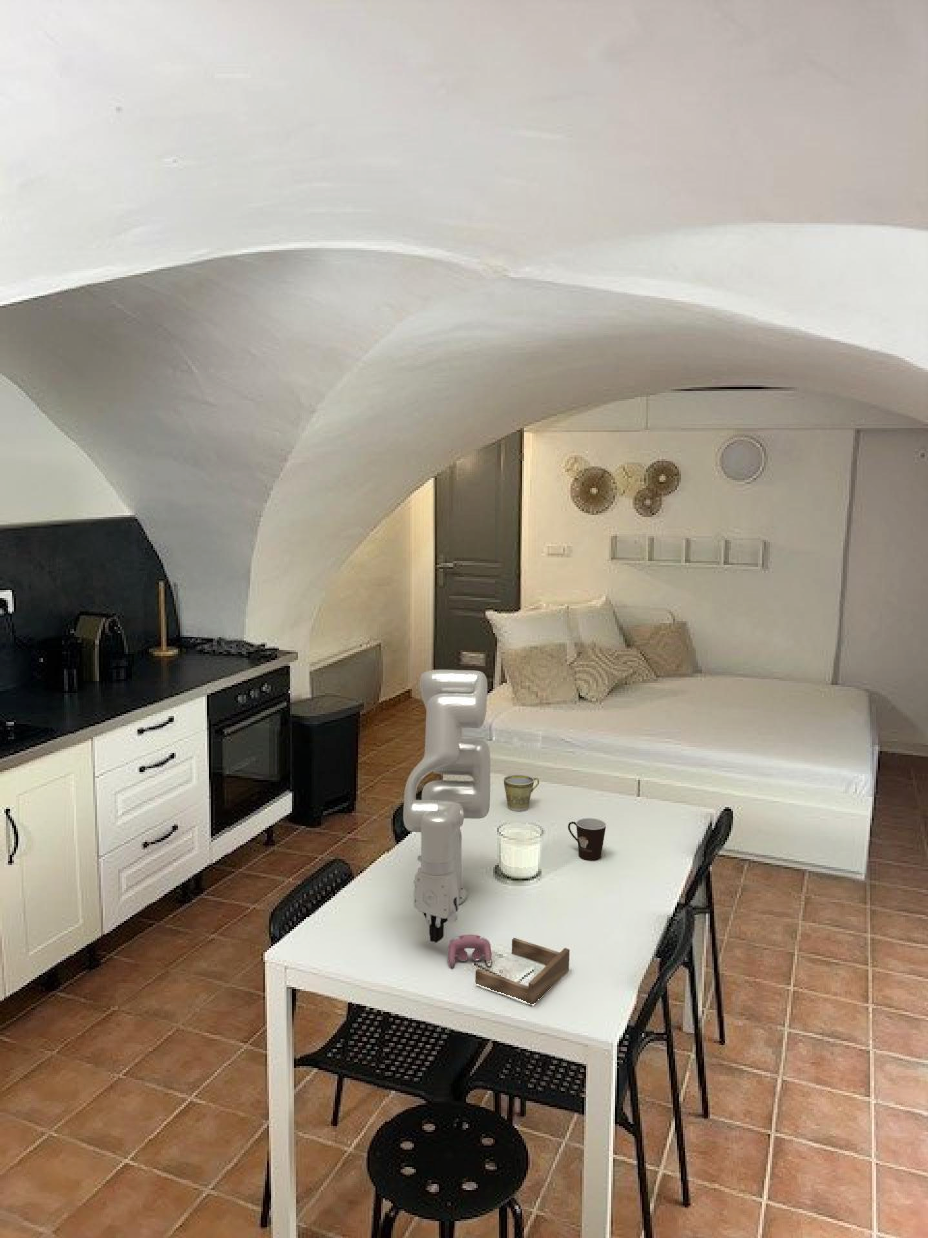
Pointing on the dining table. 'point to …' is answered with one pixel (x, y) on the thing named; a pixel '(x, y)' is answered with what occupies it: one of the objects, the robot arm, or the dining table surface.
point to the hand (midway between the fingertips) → (436, 939)
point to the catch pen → (540, 982)
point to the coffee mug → (589, 837)
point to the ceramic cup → (519, 791)
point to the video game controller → (468, 941)
